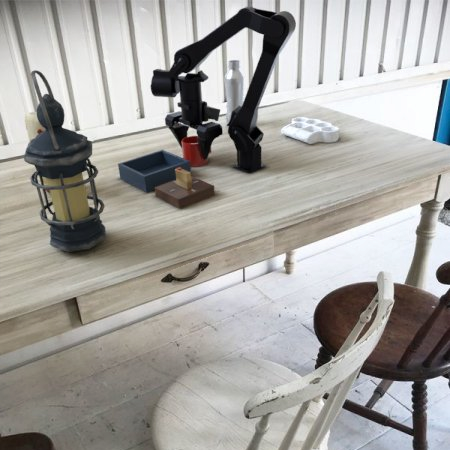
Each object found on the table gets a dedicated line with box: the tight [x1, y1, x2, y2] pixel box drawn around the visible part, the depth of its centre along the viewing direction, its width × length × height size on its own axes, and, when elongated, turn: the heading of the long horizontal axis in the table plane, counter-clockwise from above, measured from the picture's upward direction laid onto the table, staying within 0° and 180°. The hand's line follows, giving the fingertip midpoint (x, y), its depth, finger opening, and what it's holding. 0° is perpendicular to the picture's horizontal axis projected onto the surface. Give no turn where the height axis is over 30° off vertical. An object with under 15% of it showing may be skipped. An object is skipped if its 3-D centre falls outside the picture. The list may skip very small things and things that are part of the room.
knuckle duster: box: [280, 116, 340, 145], centre depth 162 cm, size 3×18×15 cm
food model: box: [24, 111, 50, 194], centre depth 130 cm, size 10×7×20 cm
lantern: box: [23, 69, 107, 253], centre depth 103 cm, size 14×13×35 cm
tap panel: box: [154, 175, 216, 210], centre depth 130 cm, size 10×11×3 cm
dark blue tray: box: [117, 149, 192, 193], centre depth 140 cm, size 13×15×4 cm
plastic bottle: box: [223, 59, 246, 125], centre depth 169 cm, size 6×7×20 cm
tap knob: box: [175, 167, 192, 190], centre depth 128 cm, size 4×1×4 cm, turn 41°
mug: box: [181, 135, 212, 168], centre depth 148 cm, size 9×7×6 cm
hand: (195, 155), depth 148 cm, fingers open, 9 cm apart
